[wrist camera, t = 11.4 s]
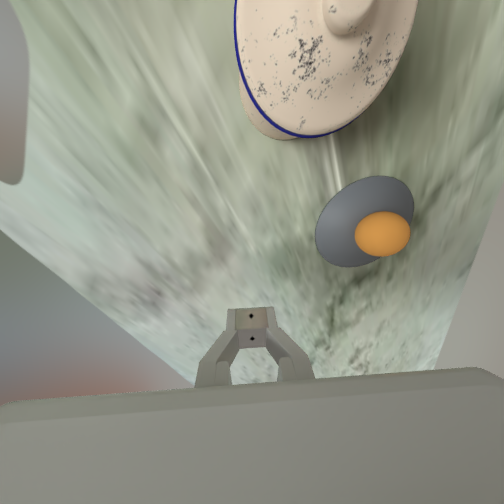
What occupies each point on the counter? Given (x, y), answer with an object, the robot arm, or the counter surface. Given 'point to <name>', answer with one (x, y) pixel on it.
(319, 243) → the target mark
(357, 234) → the ball
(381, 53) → the teacup with lid
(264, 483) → the robot arm
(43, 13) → the counter surface
